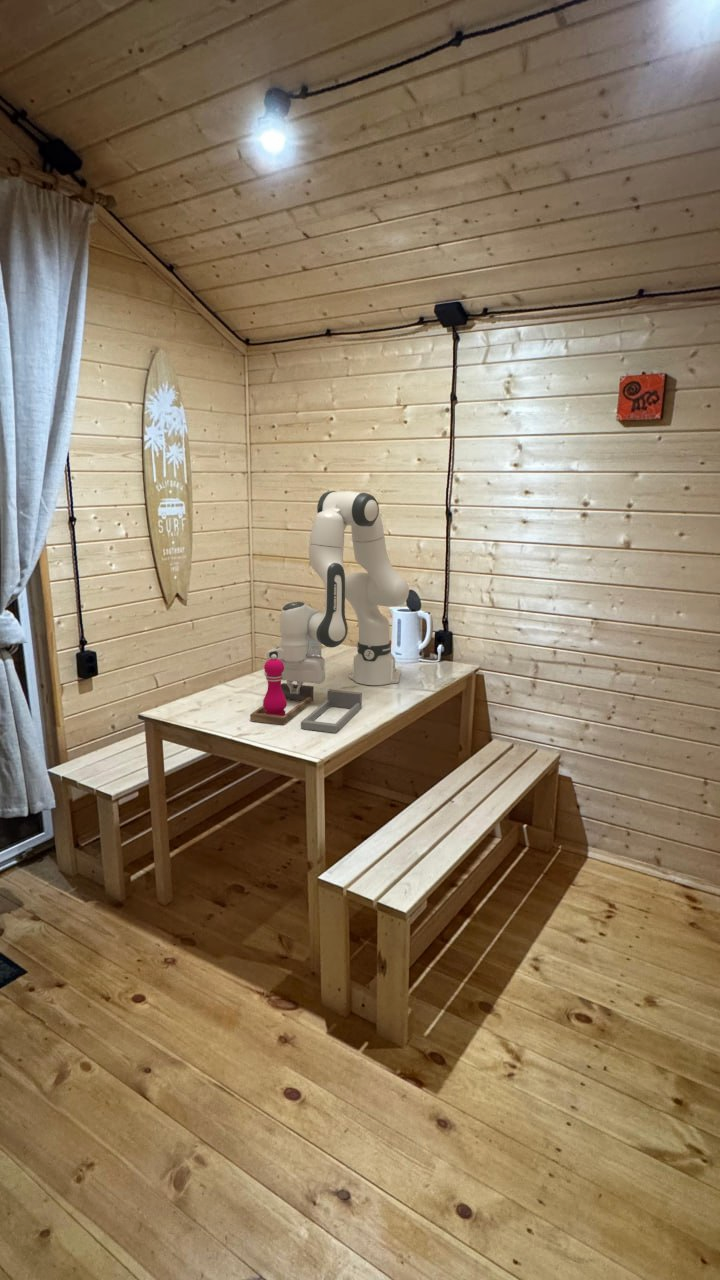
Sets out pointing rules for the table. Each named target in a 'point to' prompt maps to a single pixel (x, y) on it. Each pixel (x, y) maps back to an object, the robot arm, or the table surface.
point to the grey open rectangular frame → (338, 700)
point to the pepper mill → (274, 687)
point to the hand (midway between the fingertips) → (295, 693)
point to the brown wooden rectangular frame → (305, 698)
